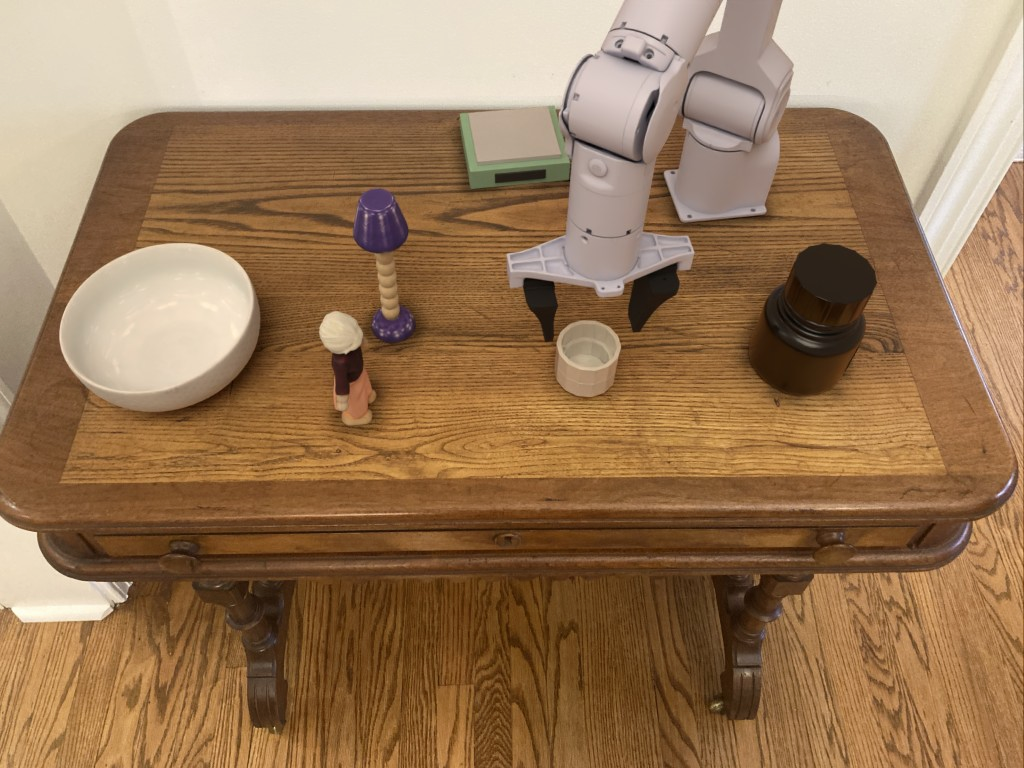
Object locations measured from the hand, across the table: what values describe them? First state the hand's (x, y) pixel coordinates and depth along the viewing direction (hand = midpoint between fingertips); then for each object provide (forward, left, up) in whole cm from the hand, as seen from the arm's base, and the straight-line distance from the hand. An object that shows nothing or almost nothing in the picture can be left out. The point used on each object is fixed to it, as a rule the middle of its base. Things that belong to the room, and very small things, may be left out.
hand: (590, 328), depth 74 cm
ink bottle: (-20, +1, -7) cm, 21 cm away
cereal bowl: (+37, -7, -7) cm, 38 cm away
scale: (+2, -32, -7) cm, 32 cm away
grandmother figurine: (+21, +1, -7) cm, 22 cm away
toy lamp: (+17, -8, -7) cm, 20 cm away
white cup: (0, 0, -7) cm, 7 cm away
